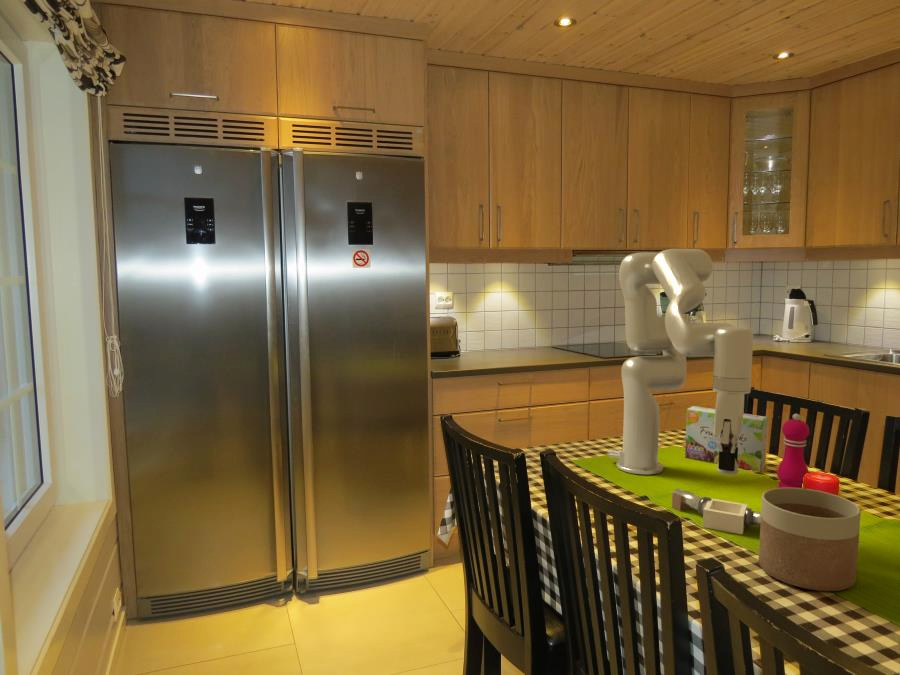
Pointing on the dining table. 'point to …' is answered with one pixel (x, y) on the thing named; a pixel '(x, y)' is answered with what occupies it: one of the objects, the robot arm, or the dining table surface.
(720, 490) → the dining table surface
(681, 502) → the shaft
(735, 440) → the rook chess piece
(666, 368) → the robot arm
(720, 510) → the cream open box
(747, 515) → the shaft
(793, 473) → the pepper mill
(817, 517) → the planter
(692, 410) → the snack box
